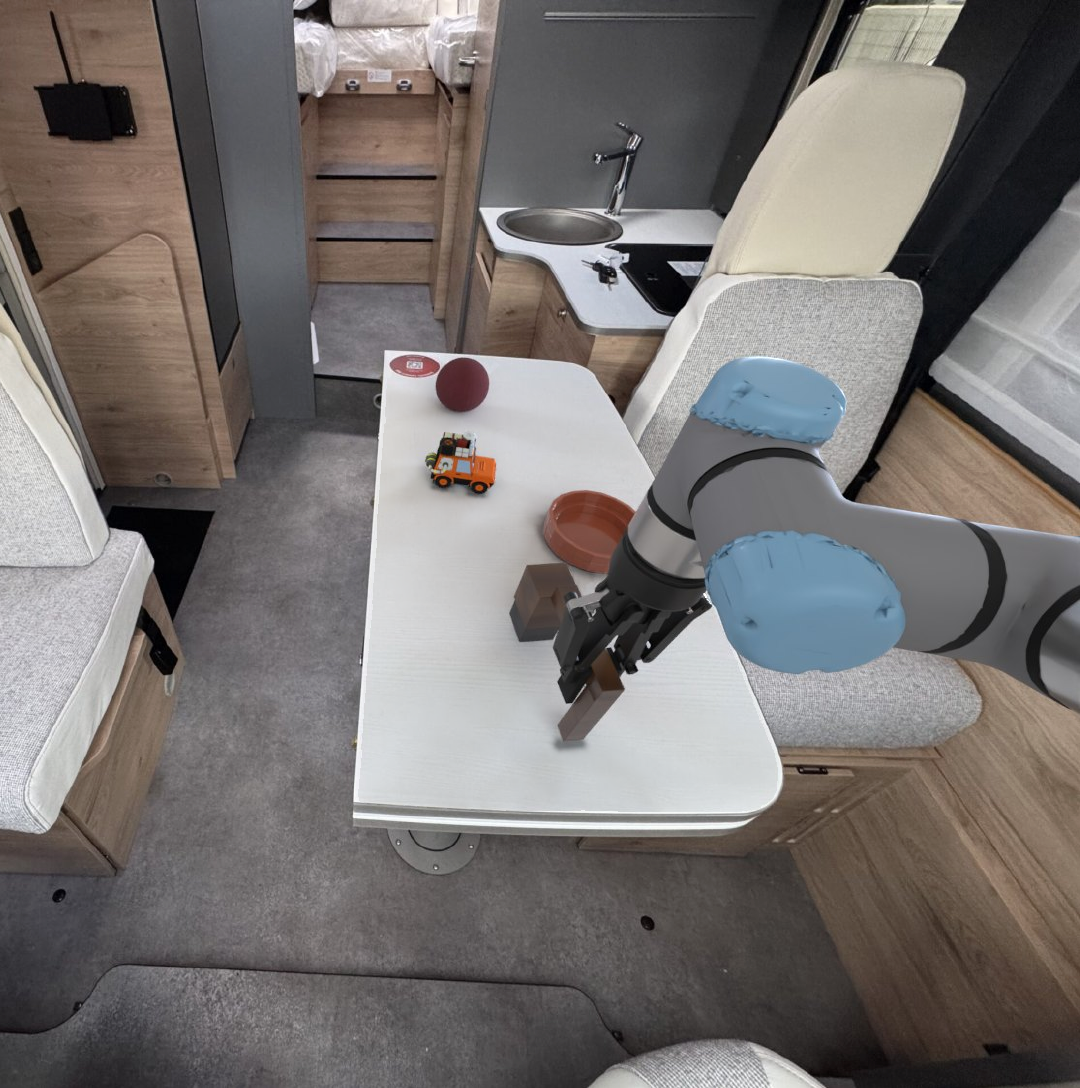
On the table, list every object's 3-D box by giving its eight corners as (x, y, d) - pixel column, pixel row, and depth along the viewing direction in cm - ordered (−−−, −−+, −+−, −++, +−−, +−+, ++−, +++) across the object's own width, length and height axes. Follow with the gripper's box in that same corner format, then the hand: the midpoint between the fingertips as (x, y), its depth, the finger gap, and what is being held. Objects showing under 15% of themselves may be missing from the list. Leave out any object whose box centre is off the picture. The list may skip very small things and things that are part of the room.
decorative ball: (472, 428, 107) (483, 381, 100) (423, 412, 110) (430, 364, 103) (490, 403, 113) (502, 357, 106) (444, 388, 116) (452, 342, 109)
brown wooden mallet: (594, 738, 66) (638, 688, 56) (552, 743, 65) (589, 692, 56) (542, 609, 77) (572, 550, 68) (506, 612, 77) (531, 552, 68)
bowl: (652, 572, 85) (664, 554, 82) (561, 578, 83) (569, 560, 80) (612, 506, 94) (622, 488, 91) (529, 510, 93) (536, 492, 90)
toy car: (424, 461, 100) (431, 419, 94) (493, 471, 99) (505, 429, 93) (420, 487, 95) (428, 444, 89) (493, 498, 94) (505, 455, 88)
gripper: (600, 590, 43) (521, 729, 60) (790, 577, 44) (659, 716, 62) (564, 520, 48) (500, 667, 65) (735, 510, 49) (629, 656, 67)
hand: (578, 690), depth 63 cm, fingers closed on brown wooden mallet, 2 cm apart
